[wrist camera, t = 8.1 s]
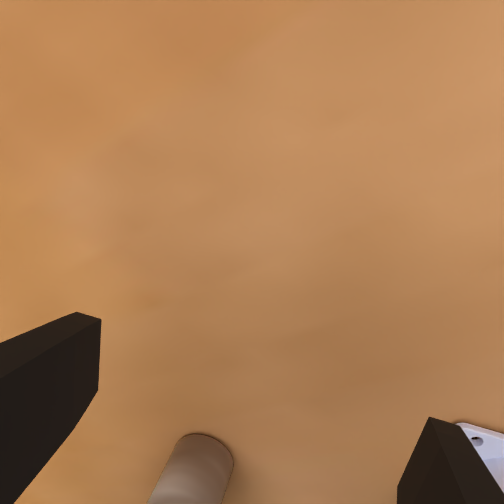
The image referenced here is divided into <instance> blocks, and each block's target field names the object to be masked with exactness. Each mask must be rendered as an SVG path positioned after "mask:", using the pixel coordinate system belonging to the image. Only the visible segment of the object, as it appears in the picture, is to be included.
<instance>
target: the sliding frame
mask: <svg viewBox="0 0 504 504" xmlns="http://www.w3.org/2000/svg"><path fill="white" fill-rule="evenodd" d="M232 470H233V459H232V456H231V454H230V453H229V451H228V450H227V449H226V447H225V446H223V445H222V444H221V443H220V442H218V441H217V440H215V439H213V438H211V437H208V436H205V435H198V434H193V435H188V436H185V437H183V438H181V439H180V440H179V441H178V442H177V444H176V446H175V448H174V450H173V452H172V454H171V456H170V458H169V460H168V462H167V464H166V466H165V468H164V470H163V472H162V474H161V476H160V478H159V480H158V482H157V484H156V486H155V488H154V490H153V492H152V494H151V496H150V498H149V500H148V502H147V504H221V503H222V500H223V497H224V494H225V491H226V488H227V485H228V482H229V479H230V476H231V473H232Z"/></svg>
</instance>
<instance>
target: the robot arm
mask: <svg viewBox="0 0 504 504" xmlns="http://www.w3.org/2000/svg"><path fill="white" fill-rule="evenodd" d="M100 338H101V319H99V318H95V317H92V316H89V315H85V314H82V313H79V312H75V313H72V314H69V315H67V316H64V317H62V318H59V319H57V320H54V321H52V322H49V323H47V324H45V325H42V326H40V327H37V328H35V329H33V330H30V331H28V332H26V333H23V334H21V335H18V336H16V337H14V338H11V339H9V340H6V341H4V342H2V343H0V504H14V502H15V501H16V500H17V499H18V497H19V496H20V495H21V494H22V493H23V491H24V490H25V489H26V488H27V486H28V485H29V484H30V483H31V482H32V480H33V479H34V478H35V477H36V475H37V474H38V473H39V472H40V471H41V469H42V468H43V467H44V466H45V464H46V463H47V462H48V461H49V460H50V458H51V457H52V456H53V455H54V453H55V452H56V451H57V450H58V448H59V447H60V446H61V445H62V443H63V442H64V441H65V440H66V438H67V437H68V436H69V435H70V433H71V432H72V431H73V429H74V428H75V426H76V425H77V423H78V422H79V420H80V419H81V417H82V416H83V414H84V412H85V411H86V409H87V408H88V406H89V404H90V403H91V401H92V399H93V398H94V396H95V394H96V393H97V391H98V381H99V359H100ZM472 437H480V438H479V439H471V438H472ZM397 504H504V434H502V433H498V432H495V431H492V430H488V429H485V428H482V427H478V426H475V425H471V424H468V423H457V424H452V423H449V422H445V421H442V420H439V419H435V418H432V417H429V418H428V420H427V422H426V424H425V427H424V429H423V431H422V433H421V435H420V438H419V440H418V442H417V444H416V446H415V449H414V451H413V453H412V455H411V457H410V460H409V462H408V464H407V466H406V468H405V471H404V473H403V475H402V477H401V479H400V482H399V484H398V486H397Z"/></svg>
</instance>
